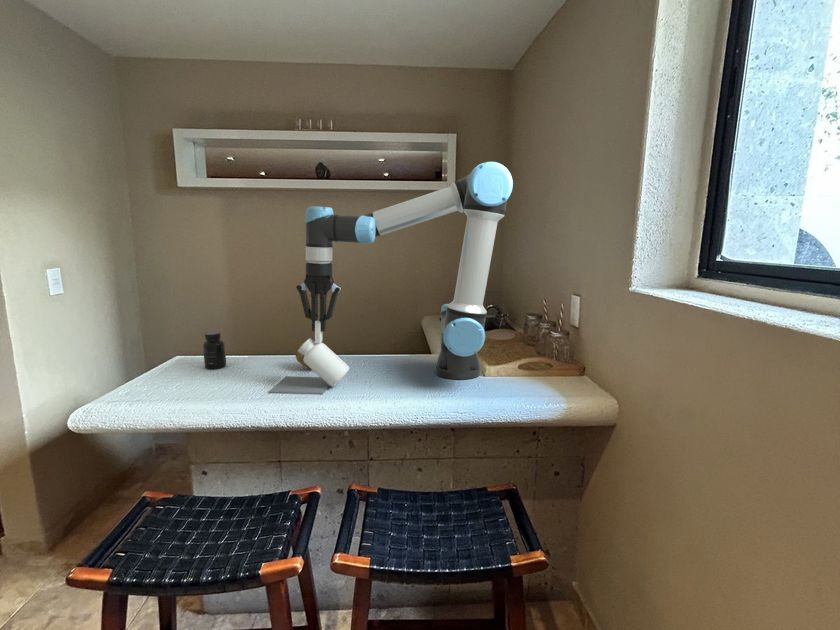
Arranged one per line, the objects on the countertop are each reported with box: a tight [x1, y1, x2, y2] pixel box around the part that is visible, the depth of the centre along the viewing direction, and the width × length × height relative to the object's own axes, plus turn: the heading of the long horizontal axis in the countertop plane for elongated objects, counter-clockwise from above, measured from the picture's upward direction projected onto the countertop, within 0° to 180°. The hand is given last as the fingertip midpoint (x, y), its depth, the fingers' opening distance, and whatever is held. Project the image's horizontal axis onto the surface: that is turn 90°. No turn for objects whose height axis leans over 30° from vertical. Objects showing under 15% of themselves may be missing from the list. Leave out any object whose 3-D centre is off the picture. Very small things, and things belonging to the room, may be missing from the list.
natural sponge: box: [295, 340, 313, 371], centre depth 151 cm, size 9×9×10 cm
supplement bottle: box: [202, 331, 227, 371], centre depth 153 cm, size 7×7×12 cm
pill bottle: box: [297, 337, 350, 388], centre depth 134 cm, size 8×8×15 cm
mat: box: [267, 375, 331, 395], centre depth 136 cm, size 16×14×1 cm
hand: (318, 341), depth 133 cm, fingers closed
